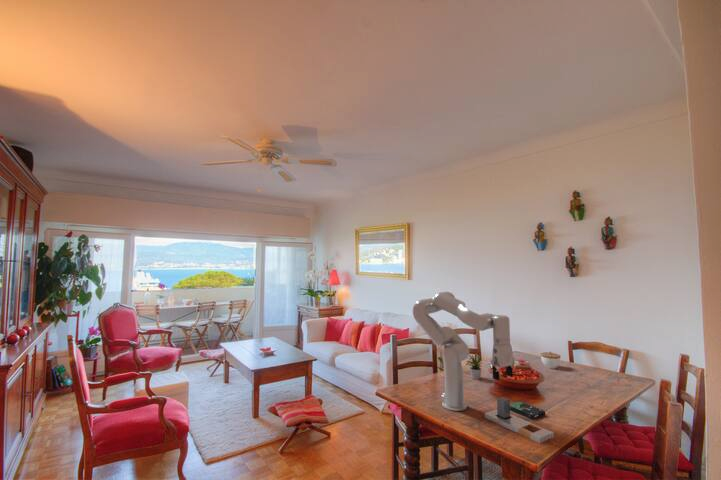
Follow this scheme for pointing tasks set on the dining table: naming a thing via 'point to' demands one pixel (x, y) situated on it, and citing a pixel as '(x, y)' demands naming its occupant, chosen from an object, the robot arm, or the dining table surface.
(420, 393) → the dining table surface
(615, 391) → the dining table surface
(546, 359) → the lidded bowl
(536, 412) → the disk drive
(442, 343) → the robot arm
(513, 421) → the grey slotted board
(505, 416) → the steel block
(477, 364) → the house plant
